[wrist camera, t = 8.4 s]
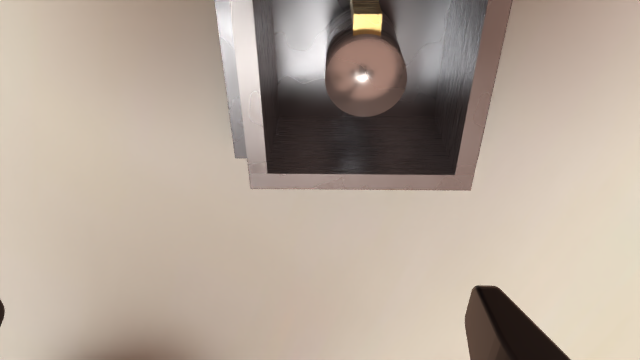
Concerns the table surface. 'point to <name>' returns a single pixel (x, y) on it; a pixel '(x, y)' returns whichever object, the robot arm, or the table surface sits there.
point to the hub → (374, 131)
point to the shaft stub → (346, 58)
